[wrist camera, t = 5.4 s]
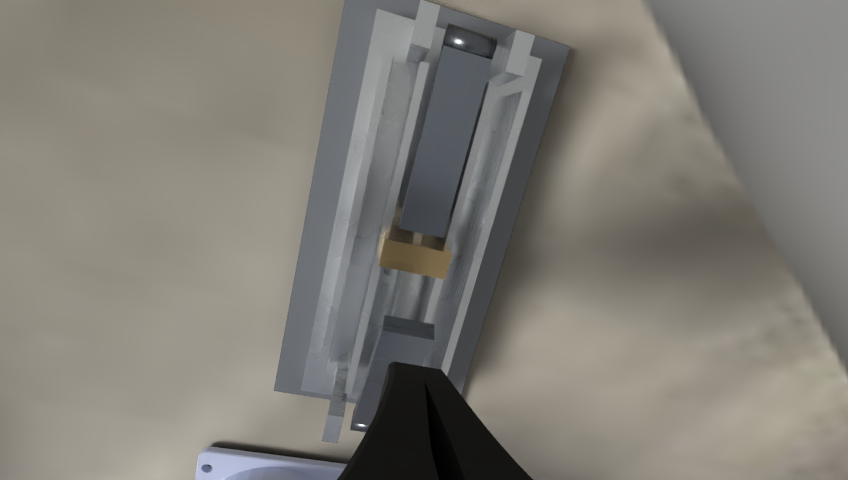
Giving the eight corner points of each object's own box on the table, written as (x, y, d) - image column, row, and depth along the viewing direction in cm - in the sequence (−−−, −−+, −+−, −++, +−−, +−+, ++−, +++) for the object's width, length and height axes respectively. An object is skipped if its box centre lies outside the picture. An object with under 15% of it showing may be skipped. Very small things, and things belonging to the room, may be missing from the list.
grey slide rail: (434, 397, 20) (445, 462, 16) (305, 377, 19) (283, 440, 15) (532, 63, 16) (579, 41, 12) (377, 16, 15) (374, -24, 11)
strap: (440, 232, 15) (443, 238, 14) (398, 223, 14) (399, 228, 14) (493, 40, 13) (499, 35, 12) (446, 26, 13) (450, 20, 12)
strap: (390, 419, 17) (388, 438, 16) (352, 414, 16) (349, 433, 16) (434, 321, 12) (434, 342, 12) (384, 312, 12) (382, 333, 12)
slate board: (451, 410, 21) (453, 418, 20) (277, 383, 19) (273, 390, 19) (563, 49, 16) (570, 46, 16) (350, -18, 15) (348, -23, 15)
